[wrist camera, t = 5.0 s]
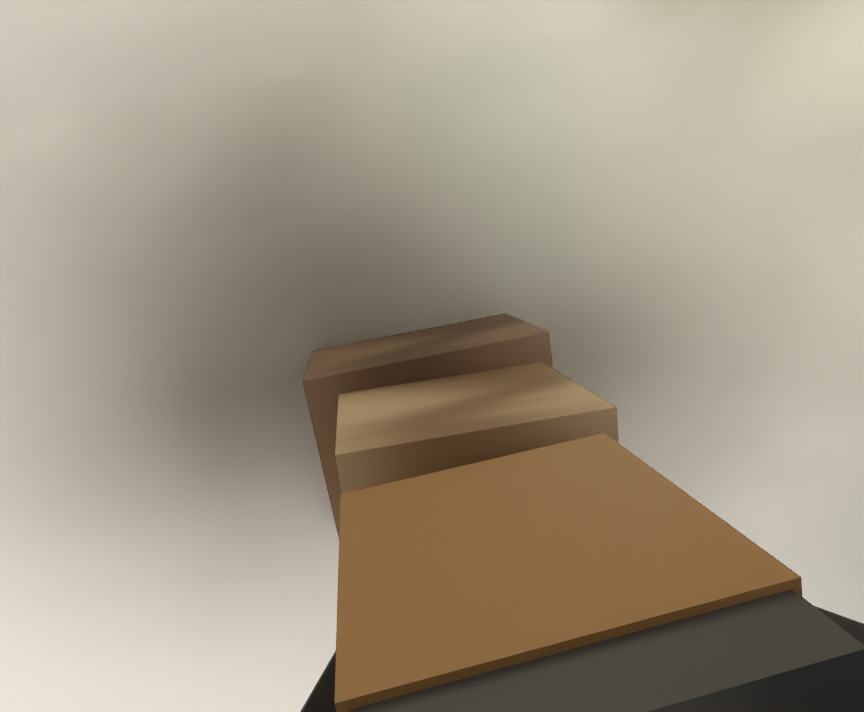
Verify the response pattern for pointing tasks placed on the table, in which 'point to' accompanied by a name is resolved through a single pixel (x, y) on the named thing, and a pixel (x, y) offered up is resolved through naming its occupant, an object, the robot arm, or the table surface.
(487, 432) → the oak block
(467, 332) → the walnut block
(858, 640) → the robot arm
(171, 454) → the table surface
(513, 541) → the grey-faced wooden cube
